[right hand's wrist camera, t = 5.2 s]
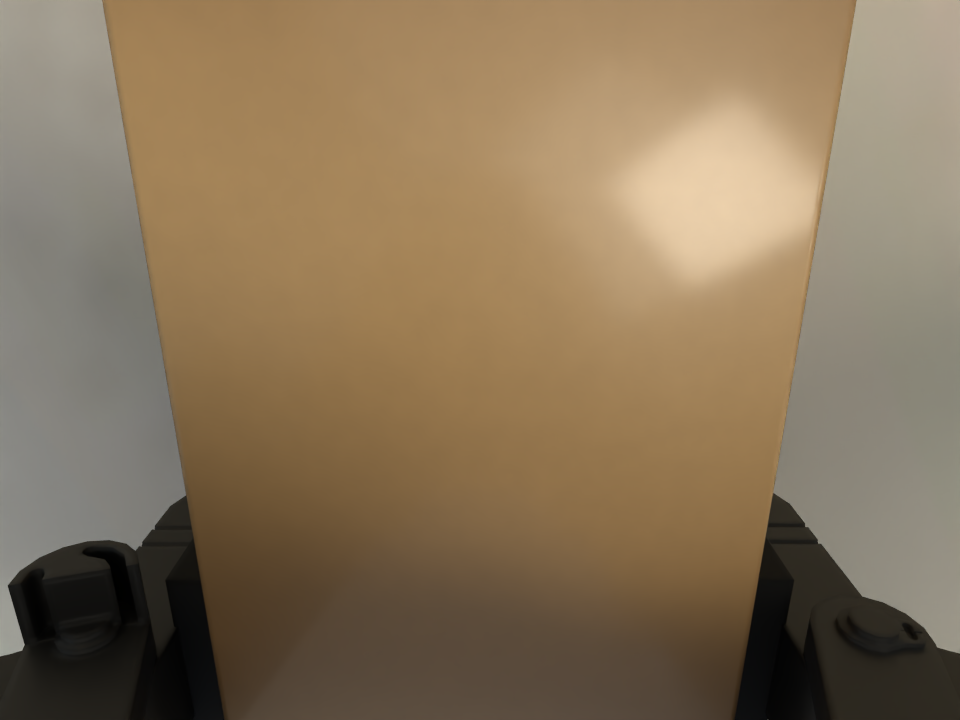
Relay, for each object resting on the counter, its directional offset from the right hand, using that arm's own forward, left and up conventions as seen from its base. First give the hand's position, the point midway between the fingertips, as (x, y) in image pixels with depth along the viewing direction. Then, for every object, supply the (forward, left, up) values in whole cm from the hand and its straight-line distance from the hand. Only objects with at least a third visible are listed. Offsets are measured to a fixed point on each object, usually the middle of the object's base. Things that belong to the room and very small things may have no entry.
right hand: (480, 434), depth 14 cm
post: (+8, -25, 0) cm, 26 cm away
